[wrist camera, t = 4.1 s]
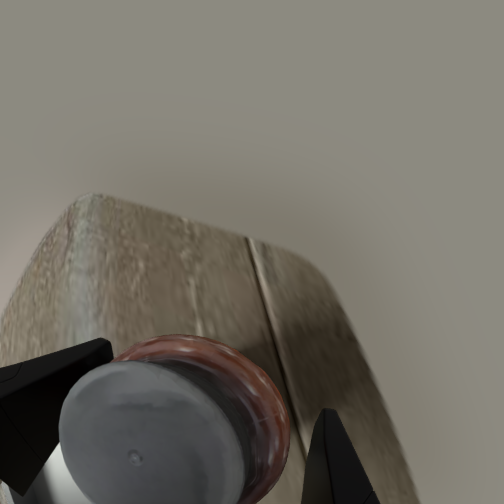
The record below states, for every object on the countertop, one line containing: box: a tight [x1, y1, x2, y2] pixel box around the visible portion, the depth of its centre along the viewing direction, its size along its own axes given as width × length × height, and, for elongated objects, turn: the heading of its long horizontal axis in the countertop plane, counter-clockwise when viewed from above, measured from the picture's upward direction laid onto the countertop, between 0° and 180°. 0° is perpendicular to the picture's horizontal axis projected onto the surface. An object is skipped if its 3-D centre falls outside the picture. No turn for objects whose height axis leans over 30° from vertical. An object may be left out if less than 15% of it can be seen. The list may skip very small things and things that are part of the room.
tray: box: [1, 442, 92, 504], centre depth 11 cm, size 12×12×4 cm
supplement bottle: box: [59, 334, 290, 504], centre depth 9 cm, size 6×6×11 cm
